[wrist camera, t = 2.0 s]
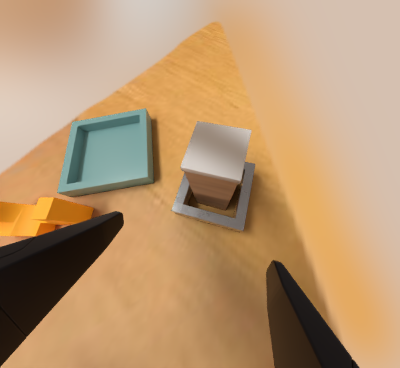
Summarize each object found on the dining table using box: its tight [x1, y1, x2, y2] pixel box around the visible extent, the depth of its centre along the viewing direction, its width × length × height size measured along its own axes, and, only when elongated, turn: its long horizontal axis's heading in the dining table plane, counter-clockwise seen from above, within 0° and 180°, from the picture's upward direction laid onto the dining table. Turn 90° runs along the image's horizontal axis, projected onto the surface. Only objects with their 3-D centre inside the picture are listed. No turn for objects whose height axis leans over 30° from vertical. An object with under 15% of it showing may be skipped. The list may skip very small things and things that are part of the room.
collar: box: [171, 162, 255, 232], centre depth 21 cm, size 9×9×3 cm
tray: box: [57, 109, 154, 197], centre depth 26 cm, size 14×14×2 cm
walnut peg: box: [181, 121, 251, 210], centre depth 17 cm, size 5×5×12 cm
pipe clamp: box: [0, 197, 94, 236], centre depth 20 cm, size 12×4×6 cm, turn 89°
